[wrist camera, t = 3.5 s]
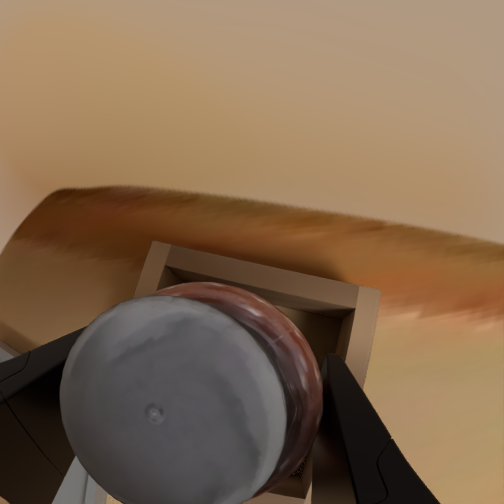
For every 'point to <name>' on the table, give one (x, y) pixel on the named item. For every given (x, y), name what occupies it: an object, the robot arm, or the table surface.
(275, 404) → the supplement bottle
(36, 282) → the table surface
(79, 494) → the slate tray
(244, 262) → the walnut collar
